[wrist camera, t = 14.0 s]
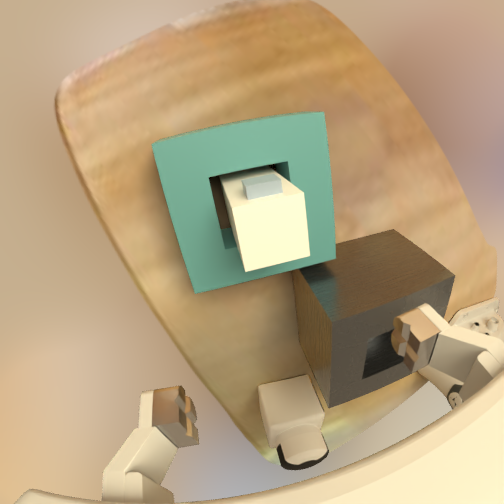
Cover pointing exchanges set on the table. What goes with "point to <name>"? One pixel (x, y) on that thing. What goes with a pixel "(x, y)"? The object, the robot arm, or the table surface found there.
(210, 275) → the block
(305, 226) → the plug
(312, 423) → the medicine bottle
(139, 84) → the table surface
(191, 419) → the robot arm
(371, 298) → the dark grey square frame
